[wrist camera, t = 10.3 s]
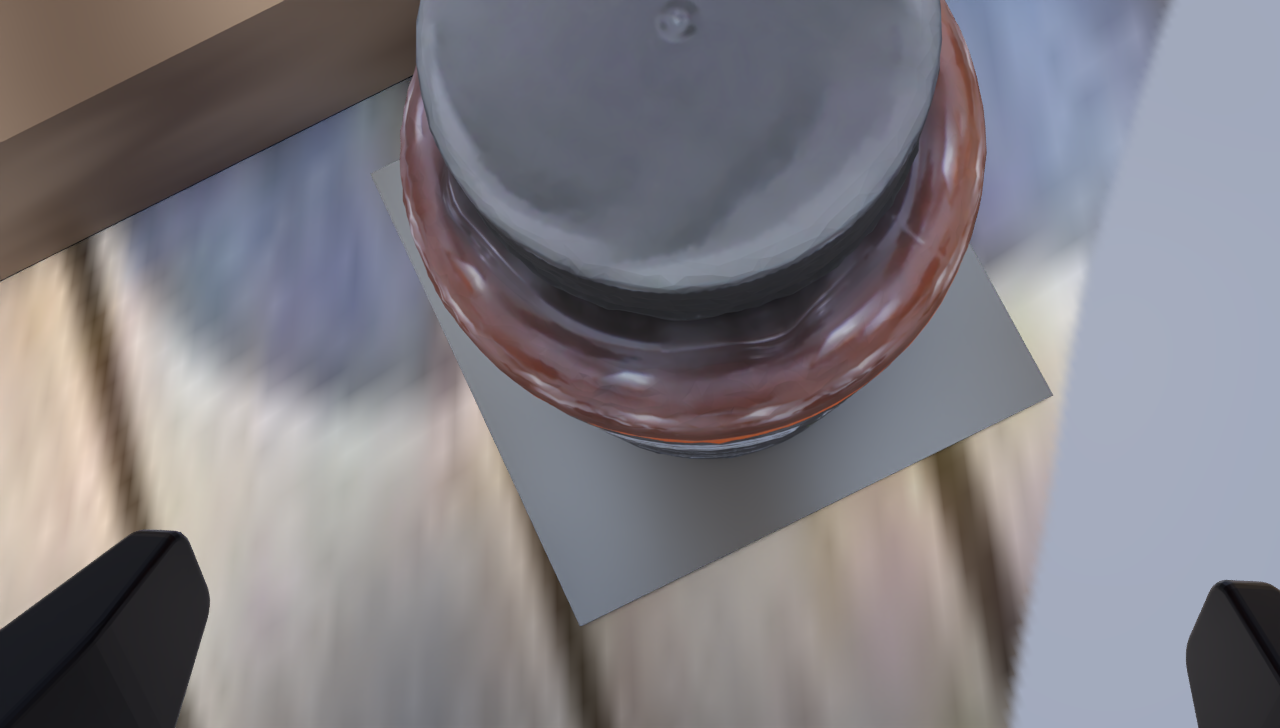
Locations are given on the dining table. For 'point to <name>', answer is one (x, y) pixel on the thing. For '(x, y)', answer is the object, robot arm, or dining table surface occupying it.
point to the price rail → (518, 421)
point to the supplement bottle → (692, 201)
